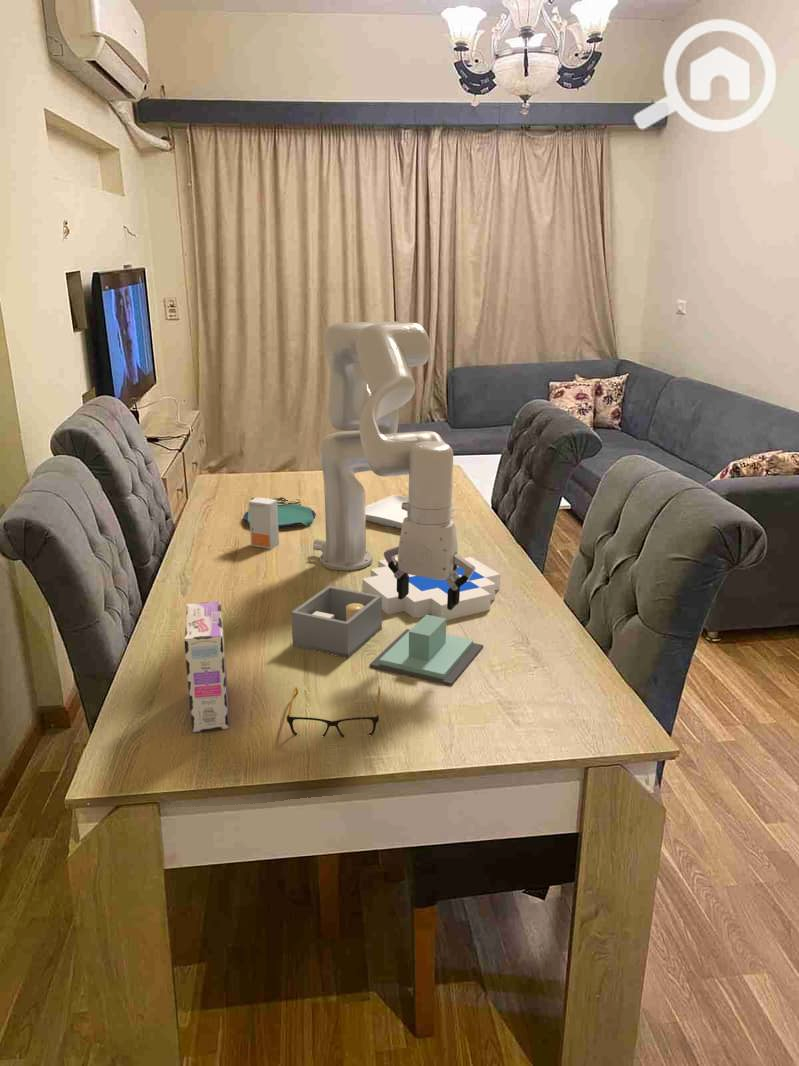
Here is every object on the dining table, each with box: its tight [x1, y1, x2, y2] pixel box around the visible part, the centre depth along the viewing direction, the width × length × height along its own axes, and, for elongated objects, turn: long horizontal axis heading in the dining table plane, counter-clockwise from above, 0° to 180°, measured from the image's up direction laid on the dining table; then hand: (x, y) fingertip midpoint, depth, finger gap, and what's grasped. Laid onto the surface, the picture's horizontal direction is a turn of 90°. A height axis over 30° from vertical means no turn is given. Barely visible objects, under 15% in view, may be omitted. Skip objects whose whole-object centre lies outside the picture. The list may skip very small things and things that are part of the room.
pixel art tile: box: [361, 556, 501, 621], centre depth 180 cm, size 28×4×28 cm
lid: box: [379, 614, 474, 679], centre depth 151 cm, size 13×15×6 cm
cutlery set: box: [243, 496, 317, 528], centre depth 232 cm, size 20×30×2 cm, turn 9°
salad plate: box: [365, 494, 456, 530], centre depth 228 cm, size 21×21×3 cm
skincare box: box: [248, 496, 280, 550], centre depth 206 cm, size 6×4×12 cm
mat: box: [369, 628, 484, 687], centre depth 152 cm, size 16×16×1 cm
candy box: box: [184, 600, 230, 733], centre depth 132 cm, size 14×6×16 cm, turn 12°
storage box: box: [290, 585, 383, 659], centre depth 159 cm, size 12×14×7 cm
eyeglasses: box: [286, 686, 381, 738], centre depth 133 cm, size 14×14×4 cm
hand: (427, 601), depth 149 cm, fingers open, 9 cm apart
